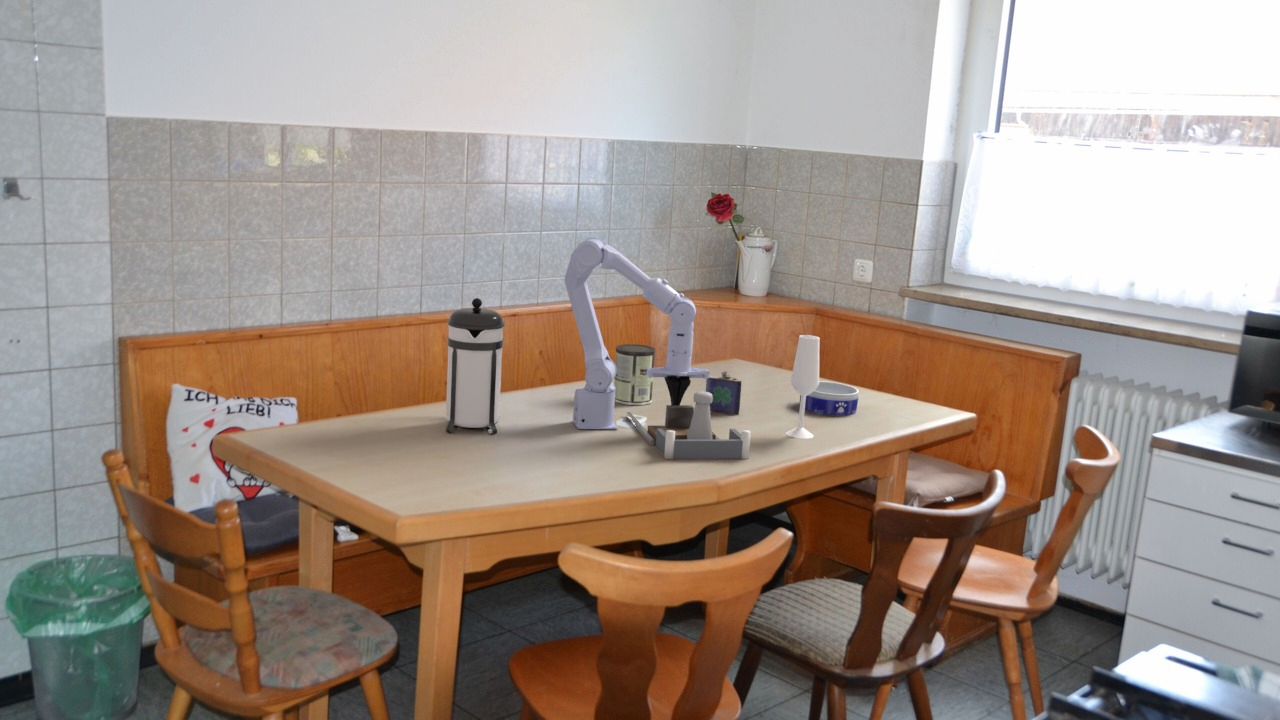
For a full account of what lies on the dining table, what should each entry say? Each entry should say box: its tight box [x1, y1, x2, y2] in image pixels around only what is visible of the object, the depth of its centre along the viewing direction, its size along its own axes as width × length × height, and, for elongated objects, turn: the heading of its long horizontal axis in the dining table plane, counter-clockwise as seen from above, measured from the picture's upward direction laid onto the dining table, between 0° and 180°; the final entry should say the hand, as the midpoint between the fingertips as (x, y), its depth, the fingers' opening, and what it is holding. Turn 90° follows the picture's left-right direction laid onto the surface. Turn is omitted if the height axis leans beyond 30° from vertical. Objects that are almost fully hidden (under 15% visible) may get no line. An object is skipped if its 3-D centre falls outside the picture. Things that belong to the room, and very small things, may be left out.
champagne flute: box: [785, 334, 821, 440], centre depth 262 cm, size 7×7×24 cm
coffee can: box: [613, 343, 657, 406], centre depth 285 cm, size 10×10×14 cm
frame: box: [655, 428, 751, 460], centre depth 244 cm, size 19×10×6 cm, turn 104°
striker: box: [646, 404, 717, 444], centre depth 252 cm, size 14×8×7 cm, turn 104°
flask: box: [705, 370, 742, 416], centre depth 280 cm, size 9×3×11 cm, turn 71°
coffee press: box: [445, 297, 506, 436], centre depth 249 cm, size 17×16×30 cm
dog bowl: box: [799, 380, 860, 417], centre depth 292 cm, size 15×15×6 cm
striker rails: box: [626, 411, 720, 446], centre depth 260 cm, size 16×24×1 cm
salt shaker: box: [687, 390, 713, 439], centre depth 246 cm, size 6×6×13 cm
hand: (675, 407), depth 258 cm, fingers closed
